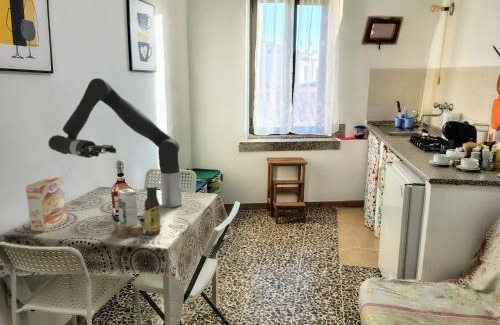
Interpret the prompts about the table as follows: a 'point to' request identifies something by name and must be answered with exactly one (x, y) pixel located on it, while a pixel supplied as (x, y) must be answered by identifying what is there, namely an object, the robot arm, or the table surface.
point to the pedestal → (129, 229)
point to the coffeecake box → (46, 203)
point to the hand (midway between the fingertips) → (106, 152)
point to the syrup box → (127, 207)
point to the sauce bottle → (152, 211)
